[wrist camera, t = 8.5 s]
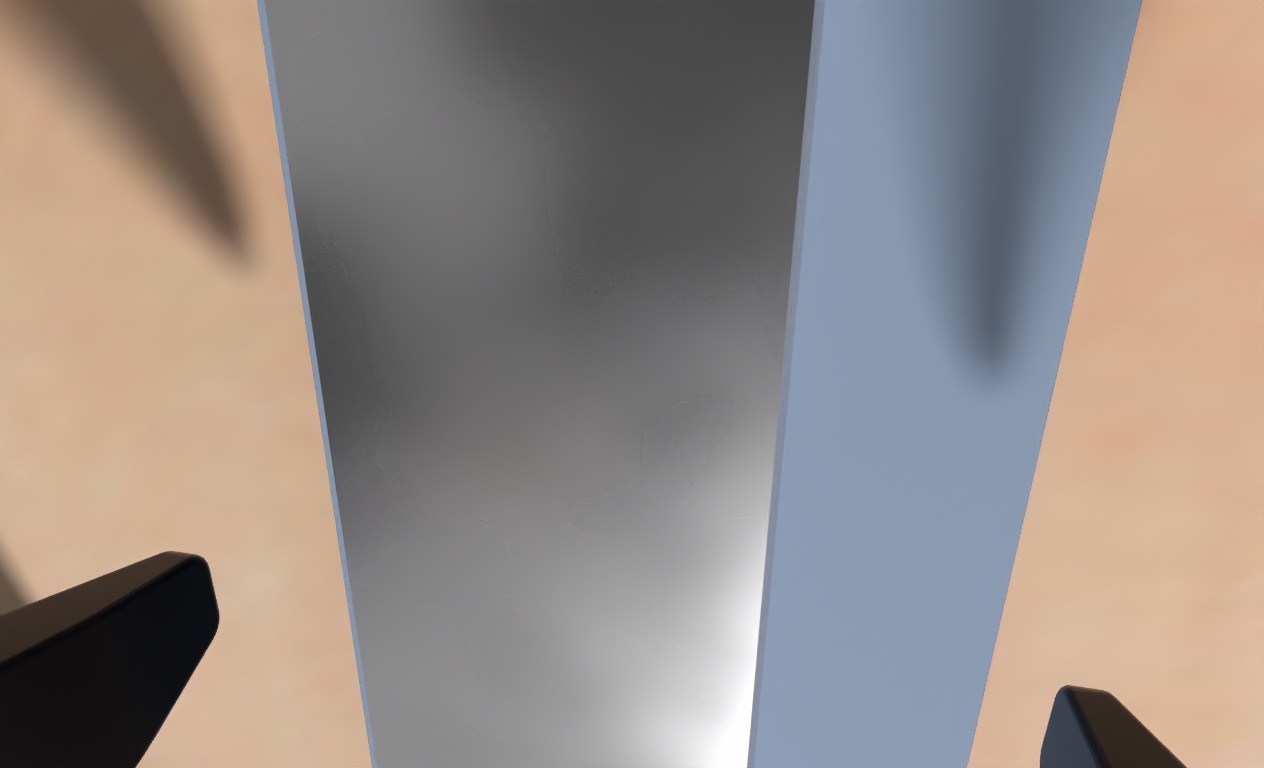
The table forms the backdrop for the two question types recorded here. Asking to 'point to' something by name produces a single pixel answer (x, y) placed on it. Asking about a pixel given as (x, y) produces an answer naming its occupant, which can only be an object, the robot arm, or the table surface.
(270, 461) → the table surface
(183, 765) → the table surface
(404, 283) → the rail
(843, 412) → the mat
